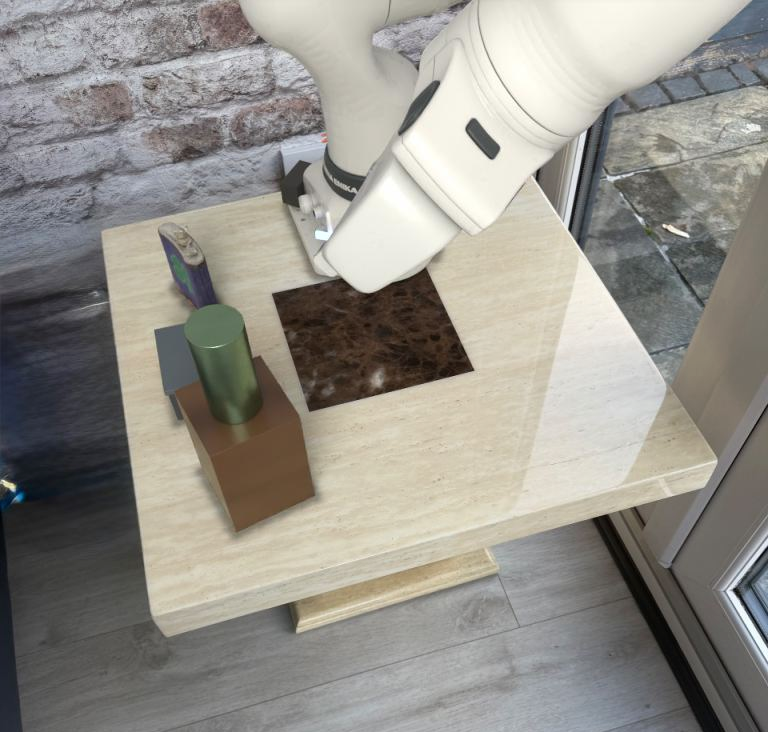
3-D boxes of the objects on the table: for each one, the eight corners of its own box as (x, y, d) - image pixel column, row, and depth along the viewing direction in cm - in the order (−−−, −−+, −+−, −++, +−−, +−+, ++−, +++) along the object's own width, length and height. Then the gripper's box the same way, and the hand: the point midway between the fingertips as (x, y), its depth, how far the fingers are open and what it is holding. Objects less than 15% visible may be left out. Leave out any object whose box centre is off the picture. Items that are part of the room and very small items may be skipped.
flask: (171, 284, 106) (149, 213, 97) (192, 274, 107) (171, 203, 98) (207, 326, 102) (187, 256, 93) (228, 316, 103) (210, 245, 94)
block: (202, 470, 90) (173, 390, 79) (278, 437, 92) (260, 354, 81) (236, 532, 86) (209, 457, 75) (315, 496, 88) (300, 417, 77)
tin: (200, 396, 79) (174, 317, 70) (249, 375, 80) (229, 296, 71) (221, 432, 76) (197, 355, 68) (271, 411, 77) (253, 332, 69)
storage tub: (165, 361, 99) (153, 329, 94) (219, 350, 99) (210, 317, 95) (175, 423, 94) (163, 391, 89) (232, 410, 94) (223, 378, 90)
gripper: (510, -36, 51) (371, 103, 61) (396, 150, 40) (252, 281, 50) (575, 48, 53) (431, 168, 63) (485, 245, 42) (329, 351, 53)
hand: (351, 219), depth 57 cm, fingers open, 8 cm apart
